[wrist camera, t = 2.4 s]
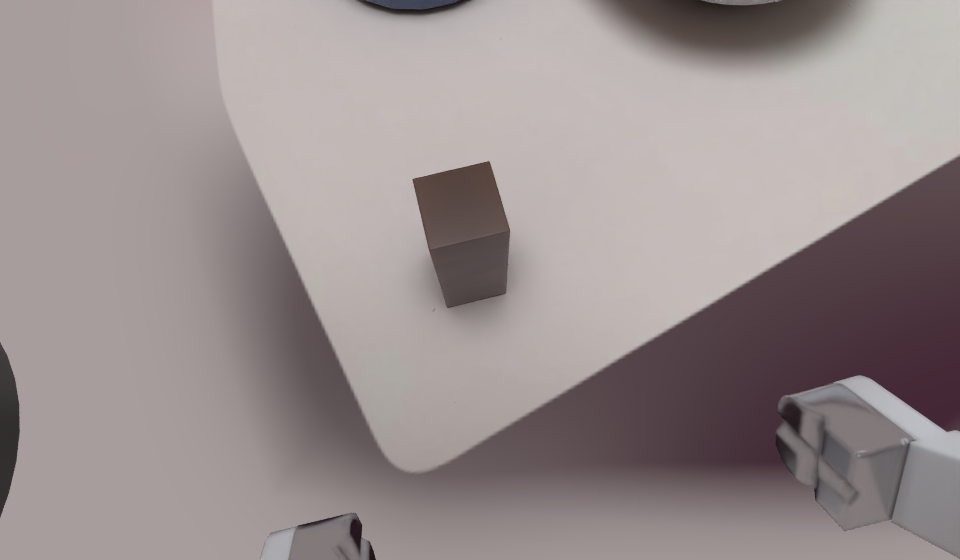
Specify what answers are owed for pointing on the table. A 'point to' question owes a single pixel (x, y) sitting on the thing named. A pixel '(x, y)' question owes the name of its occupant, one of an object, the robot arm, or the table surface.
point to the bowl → (412, 3)
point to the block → (465, 232)
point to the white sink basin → (741, 2)
